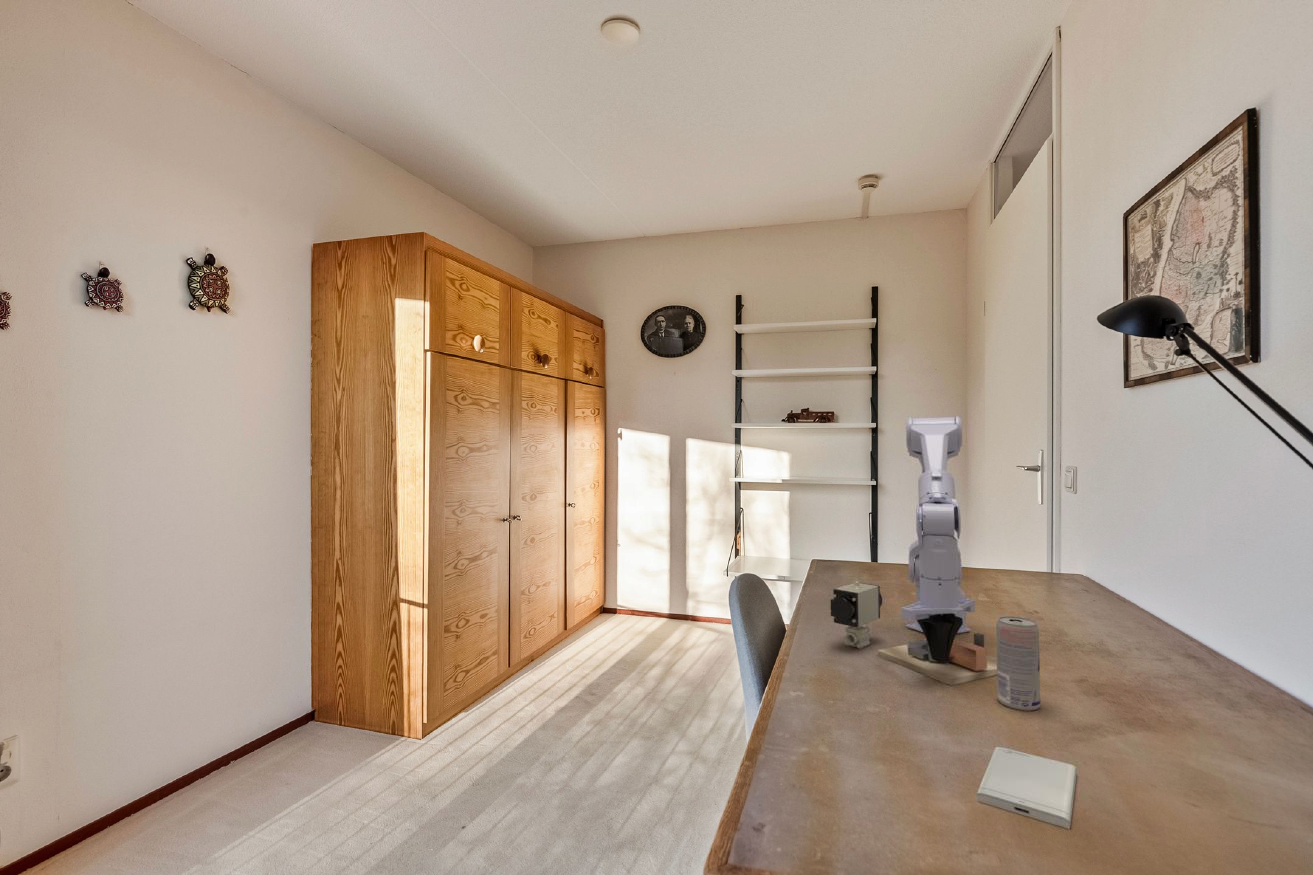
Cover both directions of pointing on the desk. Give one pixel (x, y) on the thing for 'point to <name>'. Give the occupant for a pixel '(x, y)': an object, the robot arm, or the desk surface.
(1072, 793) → the hard drive
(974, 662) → the segmented ring with bar
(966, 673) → the board
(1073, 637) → the desk surface
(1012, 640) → the energy drink
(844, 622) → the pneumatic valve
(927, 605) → the robot arm
